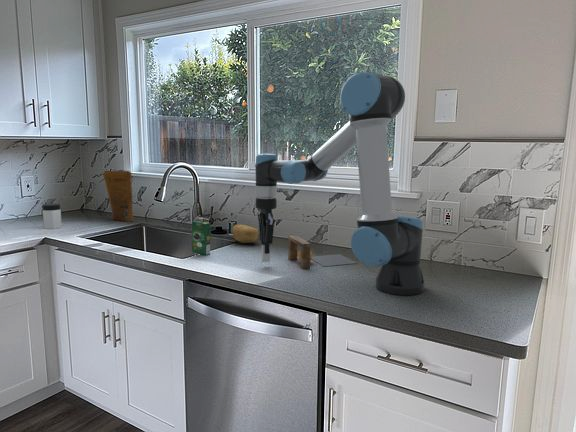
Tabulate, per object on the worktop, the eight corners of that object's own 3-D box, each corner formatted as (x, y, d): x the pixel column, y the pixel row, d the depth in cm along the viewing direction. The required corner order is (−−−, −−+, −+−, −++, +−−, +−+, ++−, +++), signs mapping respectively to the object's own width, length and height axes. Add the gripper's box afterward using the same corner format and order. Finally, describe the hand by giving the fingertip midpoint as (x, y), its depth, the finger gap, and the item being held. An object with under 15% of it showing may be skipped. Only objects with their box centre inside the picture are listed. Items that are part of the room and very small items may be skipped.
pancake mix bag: (129, 222, 244) (126, 171, 240) (104, 219, 253) (101, 170, 248) (138, 220, 250) (136, 170, 246) (113, 217, 259) (111, 169, 254)
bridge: (295, 258, 175) (295, 235, 174) (310, 268, 162) (310, 243, 160) (288, 258, 174) (288, 235, 172) (302, 269, 161) (302, 244, 159)
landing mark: (357, 263, 169) (357, 263, 169) (323, 266, 164) (323, 266, 164) (340, 254, 182) (340, 254, 182) (308, 257, 177) (308, 256, 177)
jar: (55, 225, 235) (53, 202, 233) (65, 226, 231) (64, 203, 229) (39, 228, 227) (37, 204, 225) (49, 229, 223) (47, 206, 221)
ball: (314, 263, 168) (314, 249, 167) (301, 265, 166) (300, 251, 165) (309, 259, 173) (308, 245, 172) (296, 261, 171) (295, 247, 170)
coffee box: (211, 254, 180) (210, 222, 177) (206, 255, 177) (205, 223, 175) (196, 251, 184) (196, 220, 182) (191, 252, 182) (191, 221, 179)
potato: (248, 247, 192) (248, 229, 191) (227, 242, 201) (226, 224, 200) (264, 243, 199) (264, 226, 198) (242, 238, 208) (242, 222, 207)
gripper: (282, 199, 154) (281, 265, 158) (270, 194, 166) (270, 256, 170) (261, 200, 152) (261, 267, 156) (250, 195, 164) (251, 257, 168)
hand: (265, 261), depth 163 cm, fingers closed
